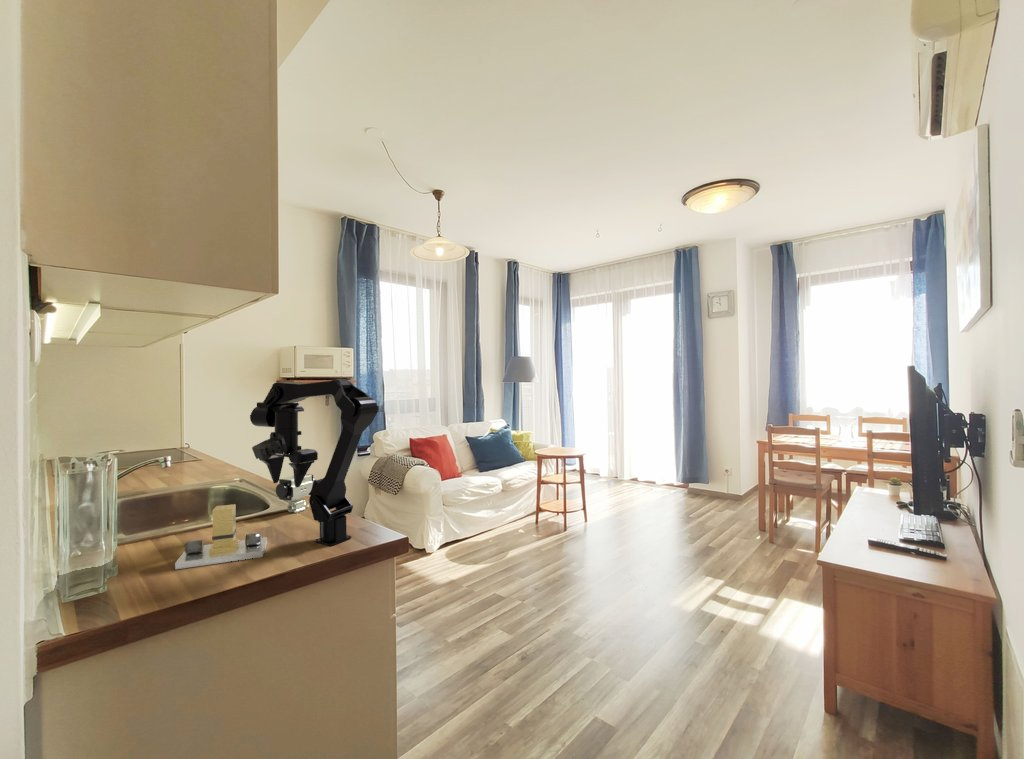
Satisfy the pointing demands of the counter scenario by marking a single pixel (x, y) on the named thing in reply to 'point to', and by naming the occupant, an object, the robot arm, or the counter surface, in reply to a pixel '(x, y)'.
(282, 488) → the pneumatic valve
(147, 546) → the counter surface
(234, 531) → the yellow banded block
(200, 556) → the plate
